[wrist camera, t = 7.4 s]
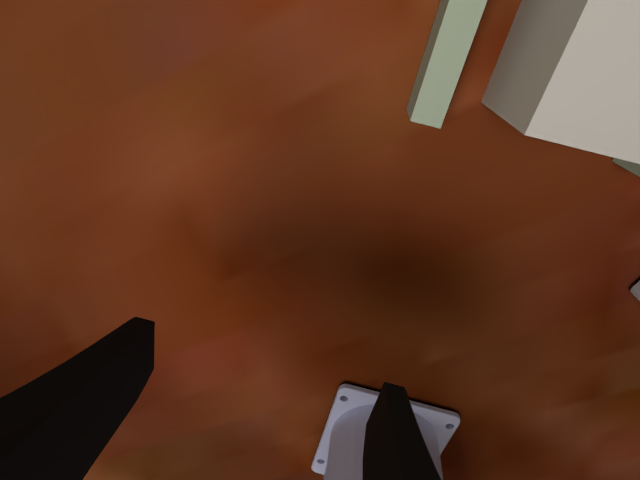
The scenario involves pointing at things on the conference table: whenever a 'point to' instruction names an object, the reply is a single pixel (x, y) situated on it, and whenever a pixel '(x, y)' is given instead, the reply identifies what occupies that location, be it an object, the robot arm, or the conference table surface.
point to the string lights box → (636, 290)
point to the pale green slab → (451, 64)
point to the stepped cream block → (572, 75)
